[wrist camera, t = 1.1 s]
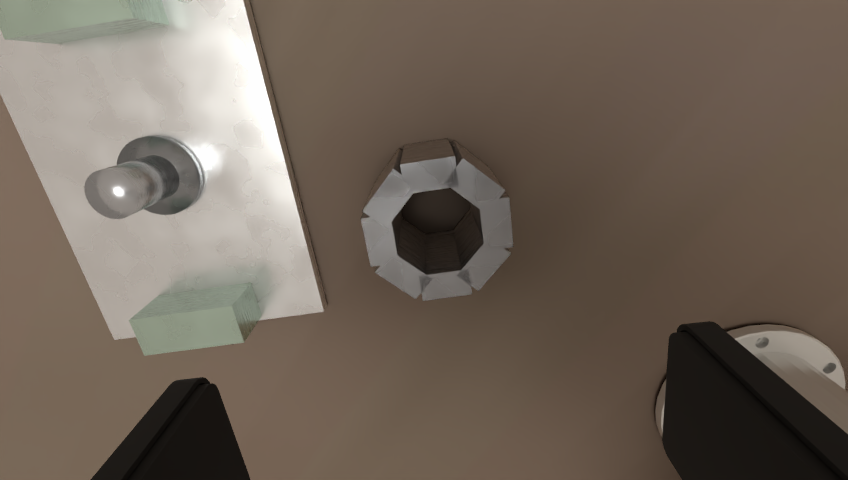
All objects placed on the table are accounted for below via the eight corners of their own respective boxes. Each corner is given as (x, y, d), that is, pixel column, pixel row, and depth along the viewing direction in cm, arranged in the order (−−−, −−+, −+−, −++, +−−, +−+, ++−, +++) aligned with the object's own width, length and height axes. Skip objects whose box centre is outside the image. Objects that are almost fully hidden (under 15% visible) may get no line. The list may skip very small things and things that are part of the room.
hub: (497, 244, 28) (516, 288, 22) (387, 260, 28) (379, 306, 22) (486, 132, 25) (505, 148, 20) (366, 150, 25) (351, 171, 20)
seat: (327, 303, 29) (306, 353, 24) (124, 331, 30) (61, 385, 24) (237, -45, 22) (182, -82, 17) (-25, 1, 23) (-156, -21, 18)
